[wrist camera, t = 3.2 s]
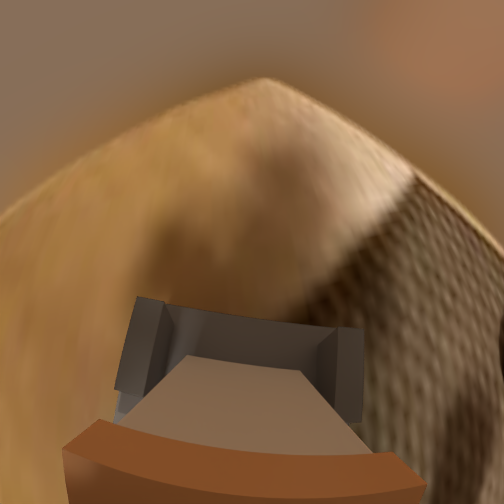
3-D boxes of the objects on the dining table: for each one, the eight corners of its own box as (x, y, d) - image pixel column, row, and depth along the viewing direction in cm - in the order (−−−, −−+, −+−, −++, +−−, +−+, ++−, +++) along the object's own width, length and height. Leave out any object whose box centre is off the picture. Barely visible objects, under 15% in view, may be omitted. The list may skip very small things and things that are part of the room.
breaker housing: (333, 494, 14) (394, 524, 8) (112, 464, 14) (49, 481, 7) (345, 353, 20) (405, 311, 13) (139, 323, 19) (99, 267, 13)
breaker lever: (296, 396, 13) (394, 548, 3) (181, 380, 13) (72, 519, 3) (302, 364, 13) (427, 483, 3) (185, 347, 13) (61, 448, 3)
